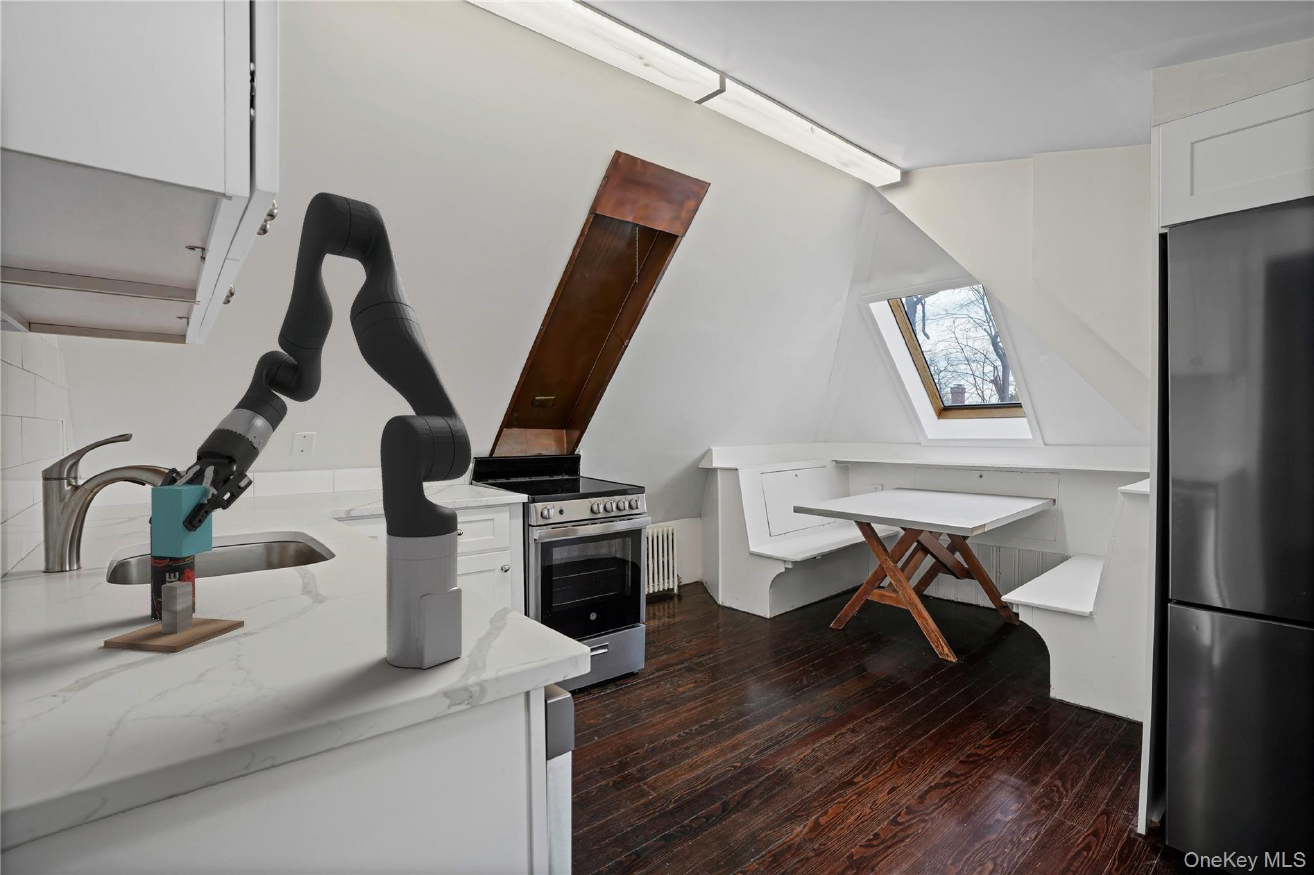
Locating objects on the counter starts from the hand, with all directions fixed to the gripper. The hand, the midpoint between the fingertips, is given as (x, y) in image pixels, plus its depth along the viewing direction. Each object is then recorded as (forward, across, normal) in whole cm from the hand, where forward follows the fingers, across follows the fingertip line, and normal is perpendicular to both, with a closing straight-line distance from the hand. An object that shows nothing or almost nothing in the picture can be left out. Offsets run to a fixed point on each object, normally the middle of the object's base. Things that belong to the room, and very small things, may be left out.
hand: (171, 527), depth 97 cm
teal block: (+2, 0, +4) cm, 5 cm away
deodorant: (+5, -11, +19) cm, 23 cm away
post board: (+11, 0, +13) cm, 17 cm away
